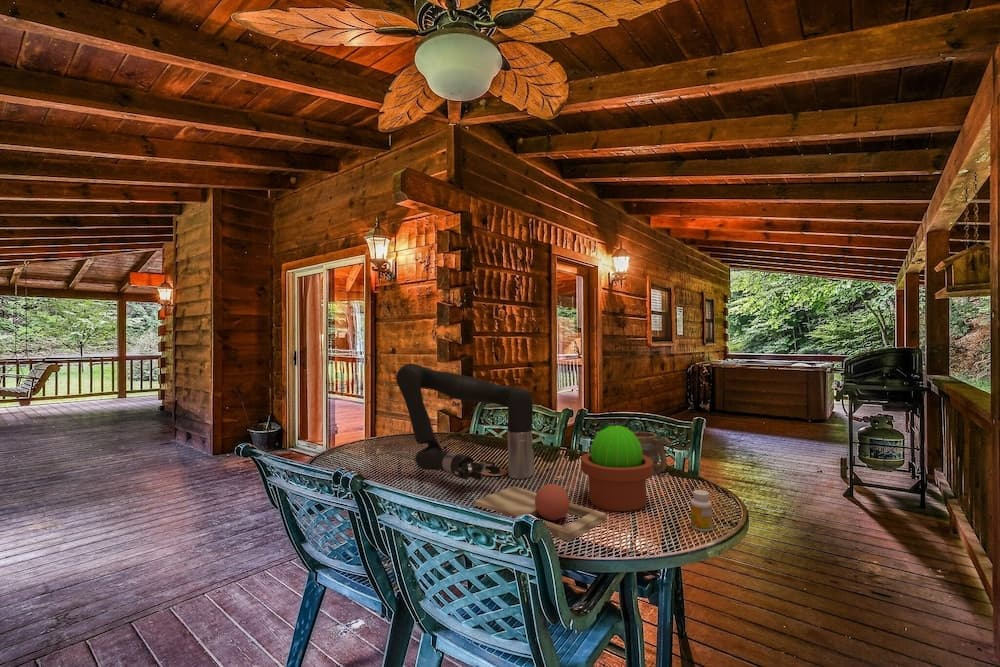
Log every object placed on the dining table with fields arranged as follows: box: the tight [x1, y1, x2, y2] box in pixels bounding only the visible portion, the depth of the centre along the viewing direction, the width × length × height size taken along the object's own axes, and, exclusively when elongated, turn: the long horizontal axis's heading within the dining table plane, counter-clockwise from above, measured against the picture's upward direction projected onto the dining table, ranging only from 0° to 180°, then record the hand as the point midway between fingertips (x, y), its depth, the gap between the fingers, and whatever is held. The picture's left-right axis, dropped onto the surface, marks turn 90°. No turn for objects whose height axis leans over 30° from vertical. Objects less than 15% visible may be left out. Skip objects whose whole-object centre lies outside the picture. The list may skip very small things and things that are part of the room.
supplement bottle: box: [690, 489, 713, 532], centre depth 127 cm, size 5×5×10 cm
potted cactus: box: [580, 423, 654, 512], centre depth 147 cm, size 22×22×25 cm
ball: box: [535, 483, 570, 521], centre depth 135 cm, size 10×10×10 cm
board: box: [474, 485, 607, 542], centre depth 139 cm, size 18×36×2 cm, turn 46°
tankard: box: [632, 431, 672, 476], centre depth 176 cm, size 20×13×15 cm, turn 23°
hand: (490, 473), depth 153 cm, fingers open, 8 cm apart
